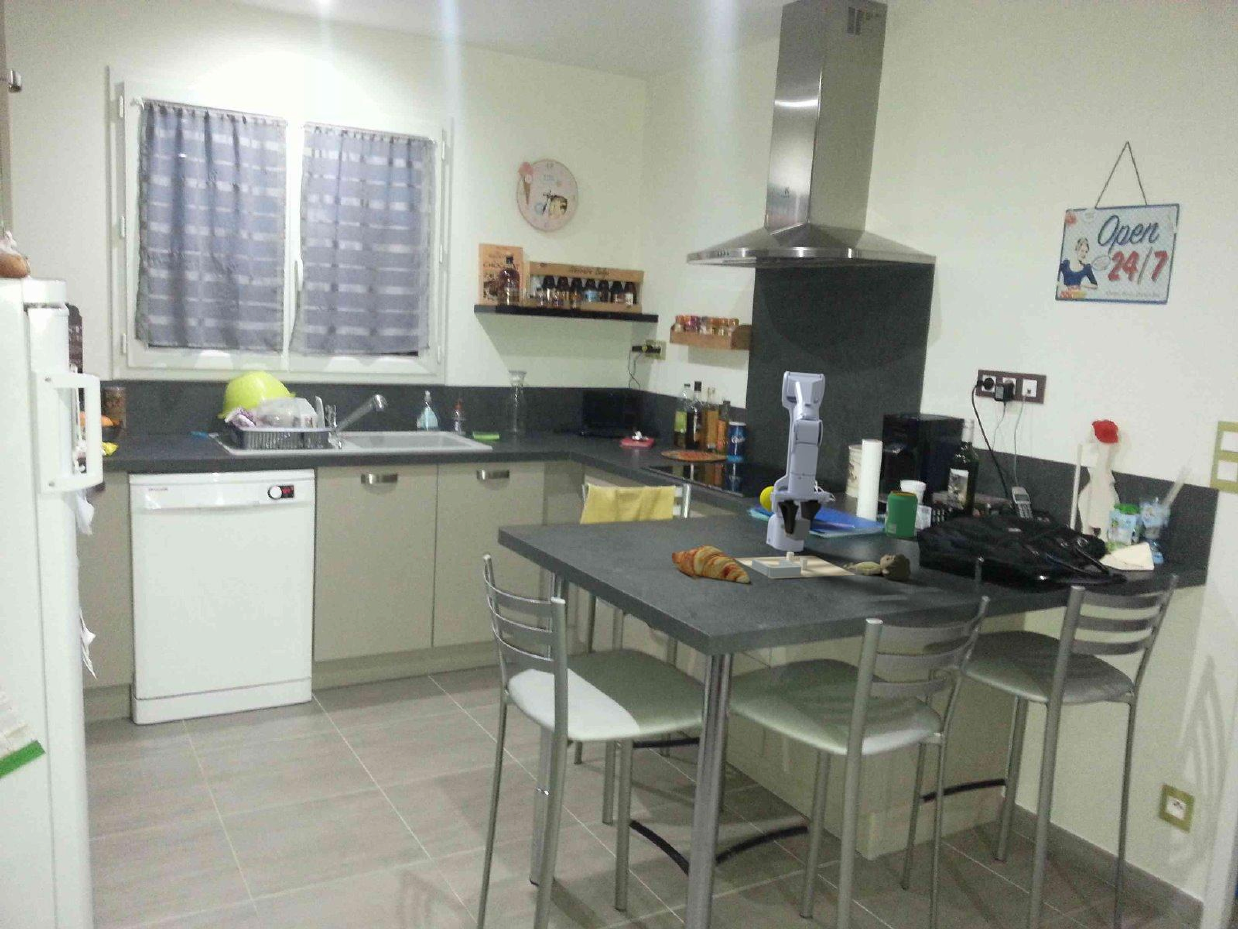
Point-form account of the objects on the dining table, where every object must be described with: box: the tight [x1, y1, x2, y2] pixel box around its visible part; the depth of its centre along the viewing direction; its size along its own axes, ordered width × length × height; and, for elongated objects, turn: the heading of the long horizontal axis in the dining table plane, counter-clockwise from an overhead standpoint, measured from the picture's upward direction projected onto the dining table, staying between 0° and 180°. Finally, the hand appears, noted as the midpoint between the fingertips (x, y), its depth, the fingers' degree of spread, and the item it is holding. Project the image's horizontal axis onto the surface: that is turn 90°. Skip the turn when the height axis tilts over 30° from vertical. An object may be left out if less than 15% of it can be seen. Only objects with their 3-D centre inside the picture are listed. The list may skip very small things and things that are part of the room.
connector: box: [781, 517, 811, 541], centre depth 229 cm, size 8×4×4 cm, turn 24°
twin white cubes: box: [785, 551, 808, 570], centre depth 231 cm, size 7×1×2 cm, turn 23°
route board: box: [733, 555, 857, 579], centre depth 230 cm, size 17×22×1 cm
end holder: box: [751, 558, 801, 578], centre depth 224 cm, size 8×8×2 cm
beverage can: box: [883, 490, 919, 540], centre depth 277 cm, size 8×8×12 cm
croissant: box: [671, 544, 751, 584], centre depth 220 cm, size 21×10×8 cm, turn 48°
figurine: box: [843, 553, 912, 582], centre depth 229 cm, size 8×6×15 cm
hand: (796, 533), depth 228 cm, fingers closed on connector, 3 cm apart
